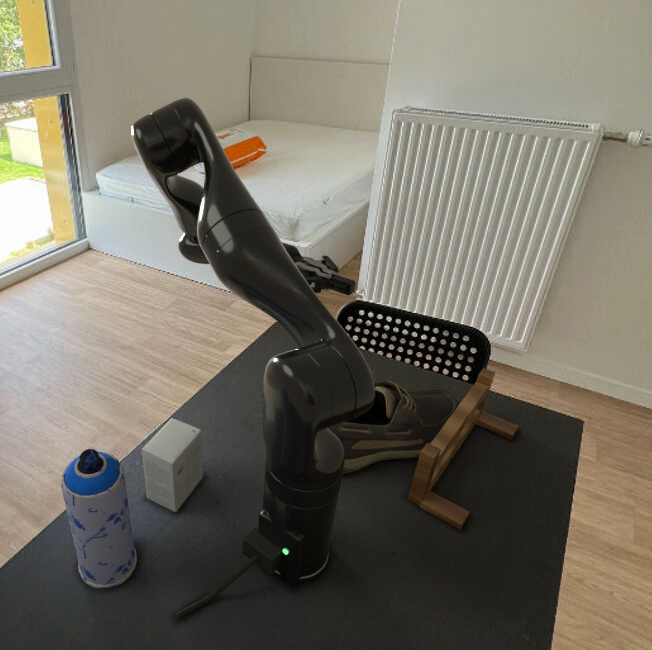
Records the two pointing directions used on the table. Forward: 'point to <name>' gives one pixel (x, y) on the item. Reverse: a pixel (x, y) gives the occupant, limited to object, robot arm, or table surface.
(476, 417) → the wooden display stand
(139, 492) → the table surface
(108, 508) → the aerosol can
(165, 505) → the small box
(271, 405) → the robot arm
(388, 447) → the boat shoe
